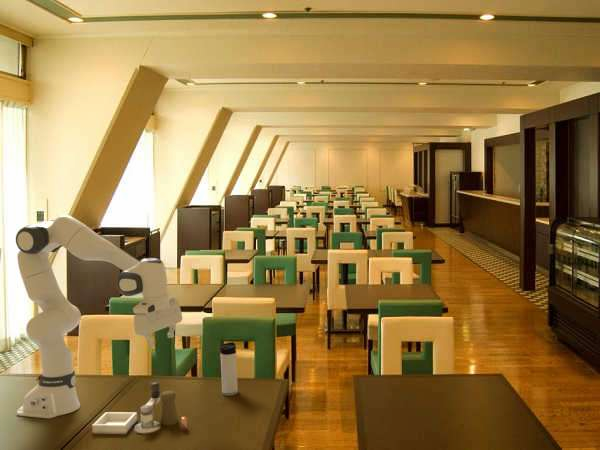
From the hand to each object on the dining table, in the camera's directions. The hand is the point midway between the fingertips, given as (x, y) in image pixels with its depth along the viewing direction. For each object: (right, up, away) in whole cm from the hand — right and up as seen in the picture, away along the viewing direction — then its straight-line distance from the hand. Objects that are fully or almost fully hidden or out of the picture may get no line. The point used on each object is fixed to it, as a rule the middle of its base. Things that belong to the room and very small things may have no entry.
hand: (161, 341), depth 228 cm
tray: (-15, -30, -4) cm, 34 cm away
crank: (-3, -23, -2) cm, 24 cm away
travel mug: (+22, -26, +27) cm, 43 cm away
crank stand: (+1, -29, -6) cm, 30 cm away
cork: (+3, -29, -1) cm, 29 cm away
